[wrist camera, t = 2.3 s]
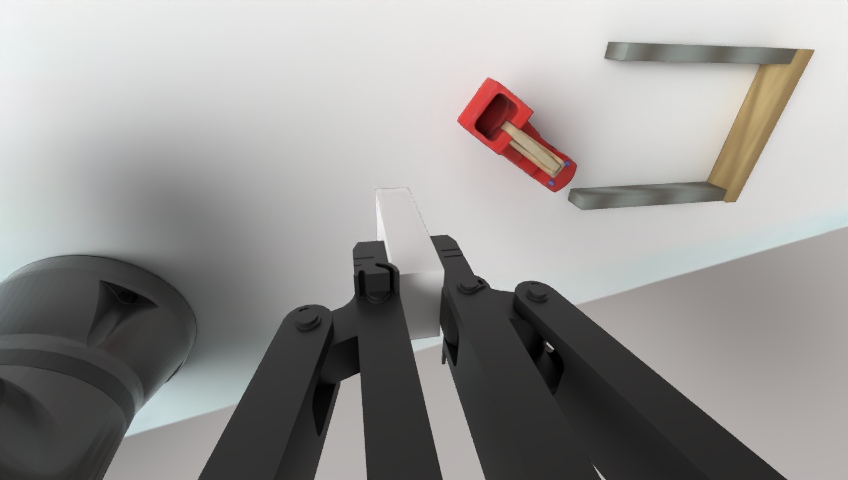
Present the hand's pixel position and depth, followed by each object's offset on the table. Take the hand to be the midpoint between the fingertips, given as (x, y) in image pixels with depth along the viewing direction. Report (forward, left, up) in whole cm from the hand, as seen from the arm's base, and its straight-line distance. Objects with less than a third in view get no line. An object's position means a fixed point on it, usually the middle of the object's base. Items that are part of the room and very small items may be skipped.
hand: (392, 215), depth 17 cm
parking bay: (+29, 0, -15) cm, 33 cm away
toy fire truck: (+12, 0, -16) cm, 20 cm away
